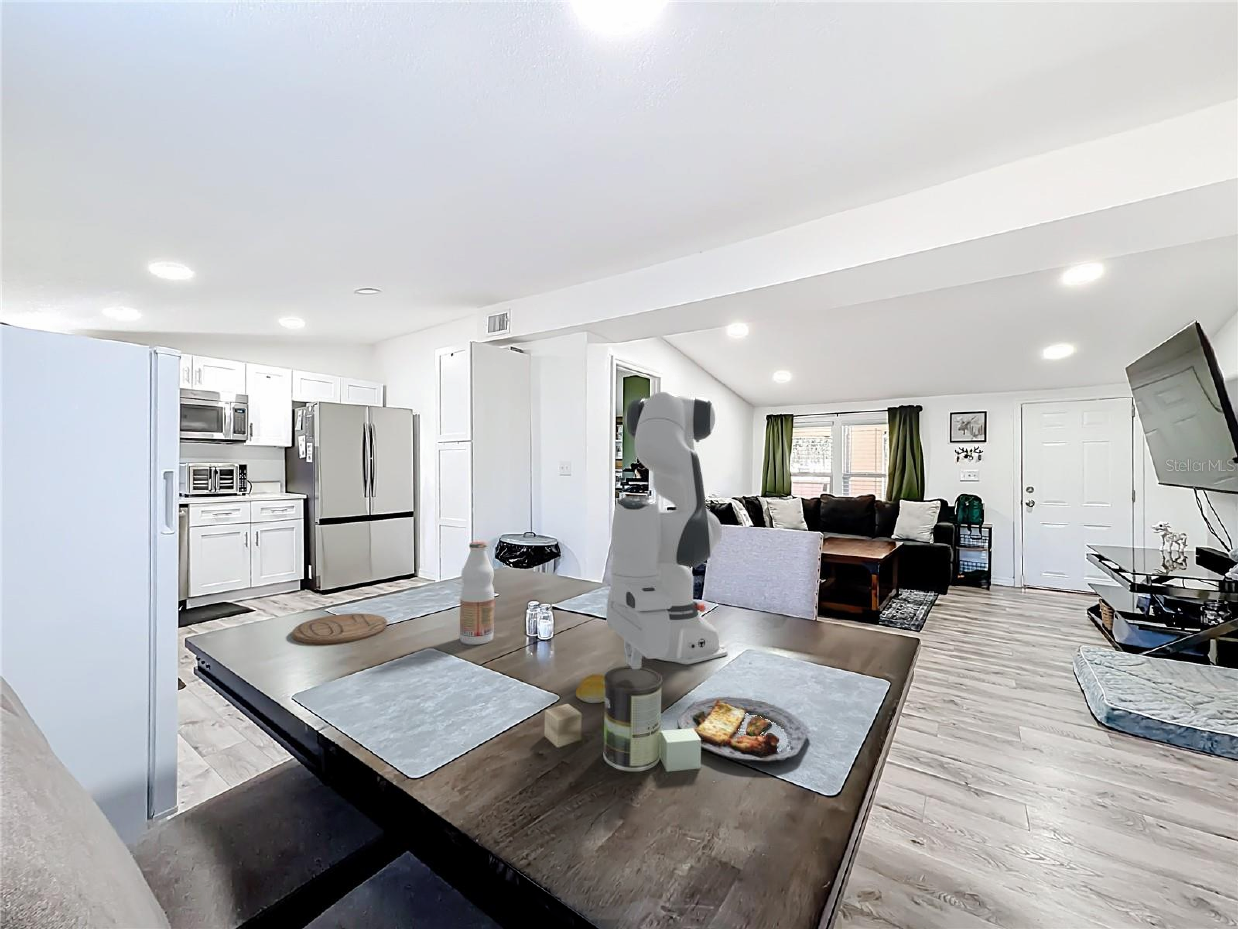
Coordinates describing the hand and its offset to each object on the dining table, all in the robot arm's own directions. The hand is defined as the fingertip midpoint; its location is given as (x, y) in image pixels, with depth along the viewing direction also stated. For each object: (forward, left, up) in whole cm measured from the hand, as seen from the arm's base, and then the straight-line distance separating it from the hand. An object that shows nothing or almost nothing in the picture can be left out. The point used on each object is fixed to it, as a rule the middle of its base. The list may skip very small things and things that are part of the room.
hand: (633, 666), depth 96 cm
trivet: (+56, -92, -17) cm, 109 cm away
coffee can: (0, 0, -16) cm, 16 cm away
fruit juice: (+19, -71, -16) cm, 75 cm away
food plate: (-23, 0, -17) cm, 28 cm away
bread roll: (-2, -26, -16) cm, 31 cm away
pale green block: (-7, +5, -16) cm, 18 cm away
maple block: (+10, -10, -16) cm, 21 cm away
